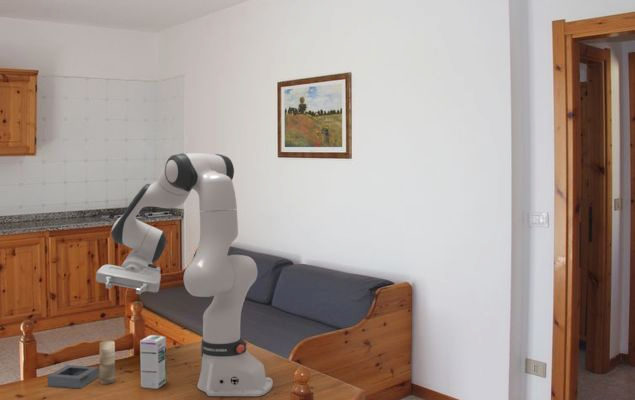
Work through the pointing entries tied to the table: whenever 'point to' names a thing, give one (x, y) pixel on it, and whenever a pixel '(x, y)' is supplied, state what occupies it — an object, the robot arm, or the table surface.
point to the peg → (107, 362)
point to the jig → (73, 376)
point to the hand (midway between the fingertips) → (123, 289)
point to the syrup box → (153, 361)
